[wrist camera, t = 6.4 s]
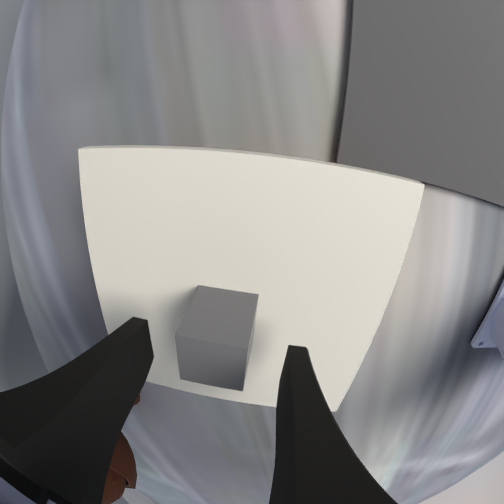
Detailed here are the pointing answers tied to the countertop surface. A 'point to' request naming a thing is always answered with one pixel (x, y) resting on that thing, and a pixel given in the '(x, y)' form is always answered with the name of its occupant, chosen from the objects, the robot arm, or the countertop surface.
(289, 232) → the cover sheet
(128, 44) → the countertop surface
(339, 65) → the countertop surface
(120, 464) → the ice cream bowl
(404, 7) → the mat
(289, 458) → the robot arm
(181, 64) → the countertop surface
